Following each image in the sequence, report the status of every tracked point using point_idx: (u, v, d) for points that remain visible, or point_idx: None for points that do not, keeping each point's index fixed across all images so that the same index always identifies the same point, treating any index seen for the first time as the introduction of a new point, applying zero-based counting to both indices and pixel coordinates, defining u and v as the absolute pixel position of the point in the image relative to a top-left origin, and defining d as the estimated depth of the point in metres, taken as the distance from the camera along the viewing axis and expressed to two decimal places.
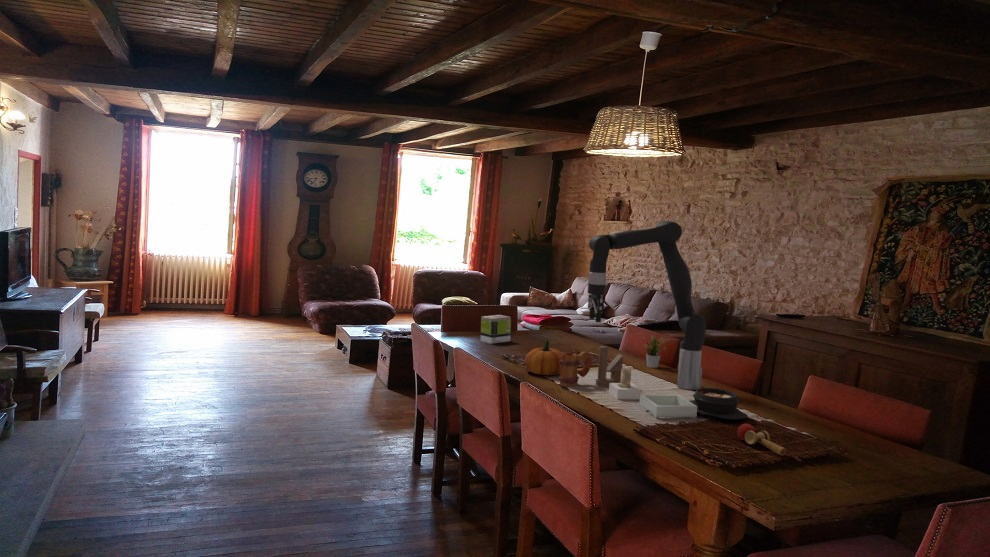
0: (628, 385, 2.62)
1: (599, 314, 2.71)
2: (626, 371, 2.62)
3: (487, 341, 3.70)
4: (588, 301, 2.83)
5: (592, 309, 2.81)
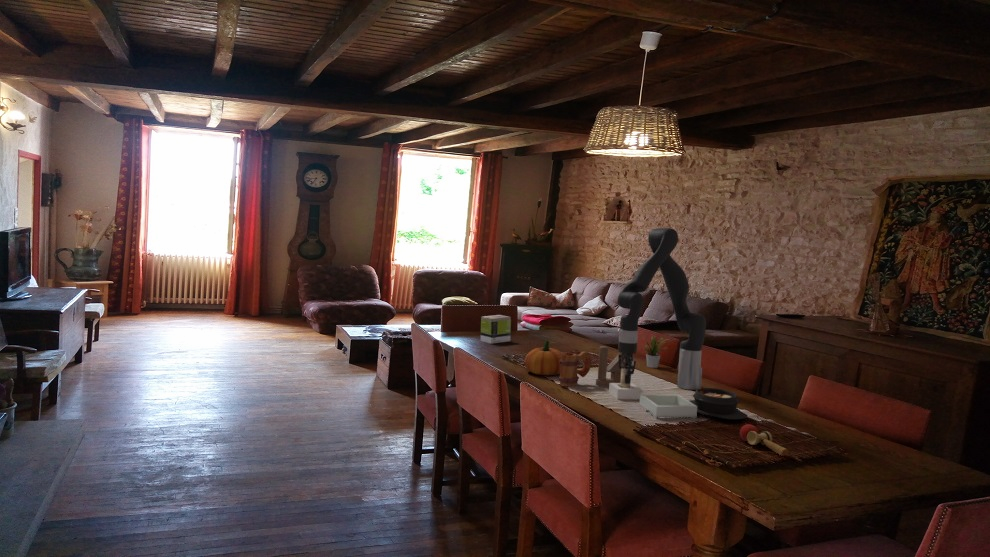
0: (628, 385, 2.62)
1: (629, 375, 2.60)
2: None
3: (487, 341, 3.70)
4: (619, 362, 2.69)
5: None
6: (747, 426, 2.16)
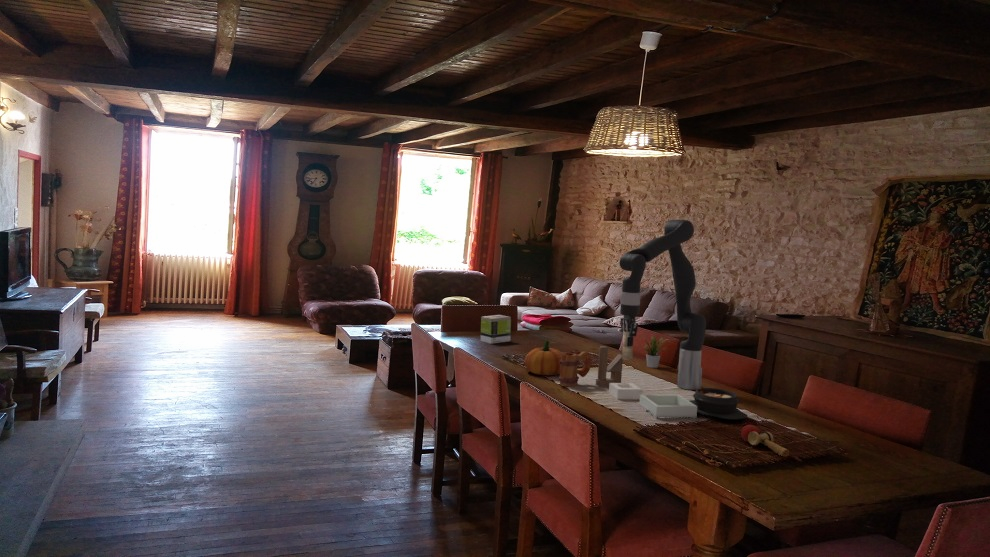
0: (630, 348, 2.61)
1: (631, 338, 2.59)
2: None
3: (487, 341, 3.70)
4: (621, 325, 2.67)
5: None
6: (748, 426, 2.15)
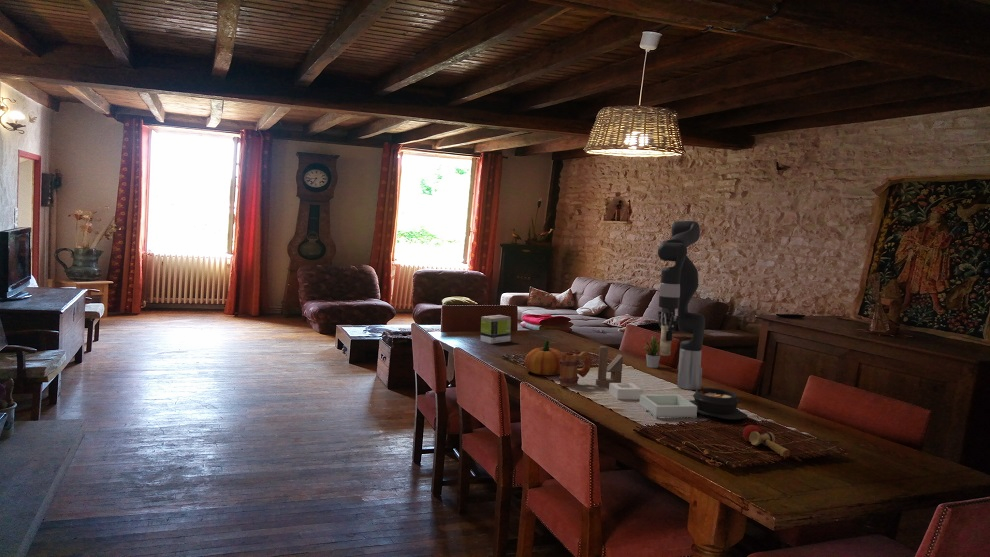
0: (669, 343, 2.45)
1: (670, 332, 2.43)
2: None
3: (487, 341, 3.70)
4: None
5: None
6: (750, 426, 2.15)
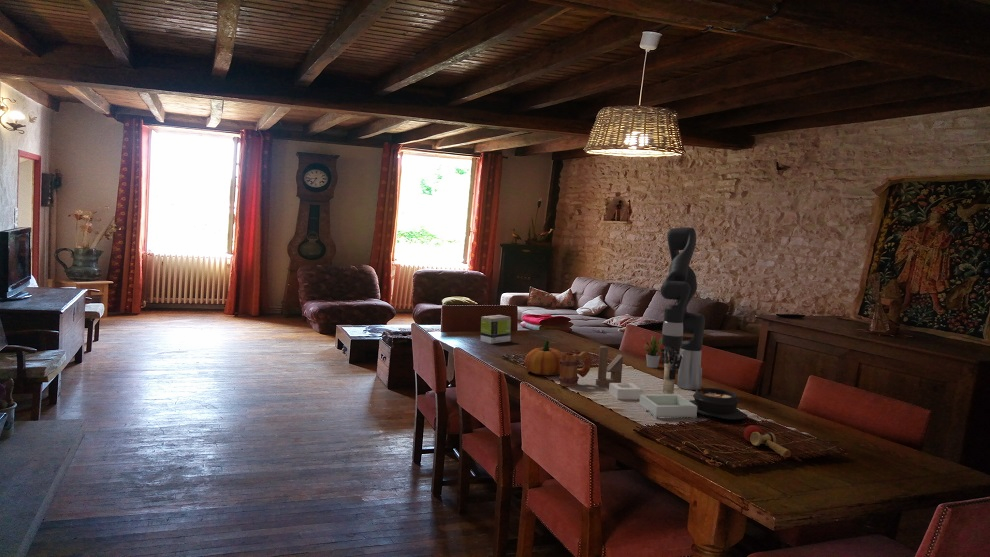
0: (672, 381, 2.45)
1: (674, 371, 2.43)
2: None
3: (487, 341, 3.70)
4: (661, 356, 2.51)
5: None
6: (751, 427, 2.15)
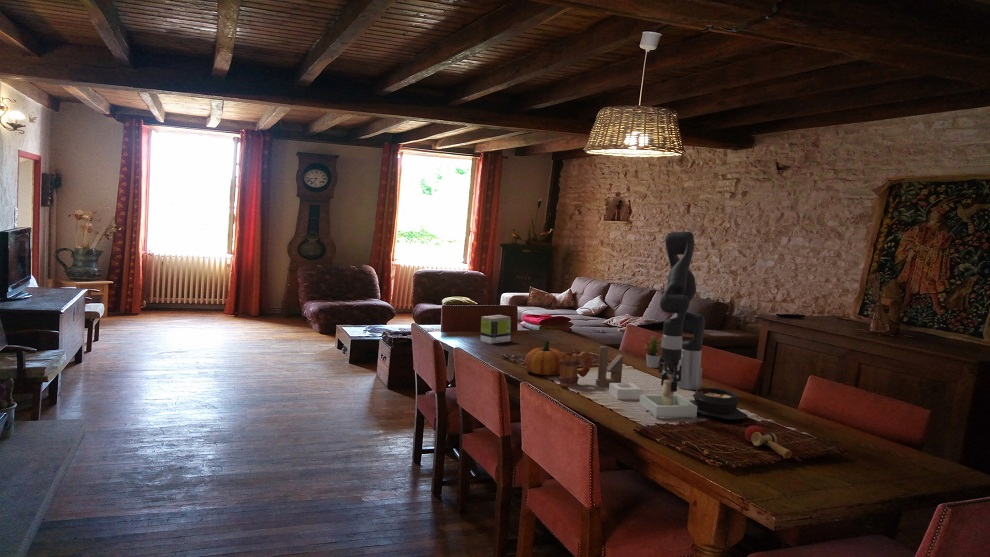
0: (671, 398, 2.45)
1: (675, 383, 2.41)
2: (669, 383, 2.45)
3: (487, 341, 3.70)
4: None
5: (665, 375, 2.50)
6: (752, 427, 2.15)
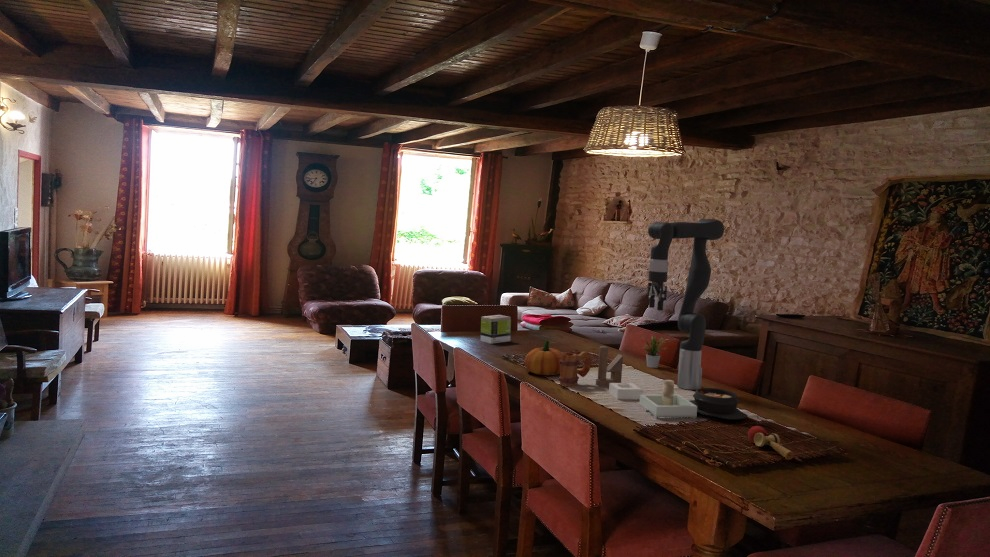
0: (671, 398, 2.46)
1: (661, 302, 2.65)
2: (669, 383, 2.45)
3: (487, 341, 3.70)
4: None
5: (652, 297, 2.74)
6: (755, 428, 2.14)
